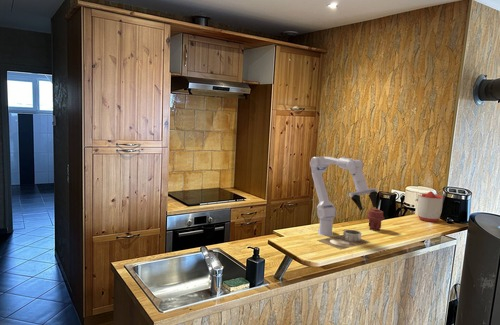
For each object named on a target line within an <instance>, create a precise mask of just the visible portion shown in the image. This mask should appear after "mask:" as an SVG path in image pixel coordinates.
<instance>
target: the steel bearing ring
mask: <svg viewBox="0 0 500 325" xmlns="http://www.w3.org/2000/svg"><path fill="white" fill-rule="evenodd" d="M342 235H343V239H344V240H346V241H349V242H360V241H361V239H362V232H361V231H358V230H355V229H345V230H343V234H342Z"/></svg>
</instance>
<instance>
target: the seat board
mask: <svg viewBox="0 0 500 325" xmlns="http://www.w3.org/2000/svg"><path fill="white" fill-rule="evenodd" d="M316 242H320V243H322V244H325V245H328V246H330V247H333V248H335V249H338V250H345V249H348V248H353V247H357V246H361V245H364V244H369V243H370V240H365V239H364V238H361V241H360V242H349V241H346V240H344V239H343V234H341V235H335V236H330V237H327V238H321V239H318V240H317V241H316Z"/></svg>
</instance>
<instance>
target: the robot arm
mask: <svg viewBox="0 0 500 325" xmlns="http://www.w3.org/2000/svg"><path fill="white" fill-rule="evenodd" d="M330 165H336V166H338V168H340V169H344V170H348V171H349V172H350V175H351V177H352V182H353V183H354V187H355V190H356V191H353V192H349V193H348V195H349V198H350V199H351V201H353V203H354V204H355V205H356V206H357V209H359V211H362V210H363V204H362V201H361V196H364V195H368V198H369V199H370V201H371V204H372V205H371V206H372V208H373V209H376V208H377V206H378V205H377V197H378V189H377V187H375V188H374V187H373V188H369V187H368V184H367V181H366V177H365V173H364V170H363V169H364V162H363V161H362V160H361V159H354V158H352V157H350V158H347V156H342V157H341V156H340V158H337V157H332V156H313V157H311V159H310V161H309V166H310V170H311V177H312V179H313V185H314V187H315V190H316V195H317V198H318V204H317V206H316V209H317V211H316V214H317V217H318V220H319V227H318V228H319V229H318V230H317V234H318V235H319V236H327V237H333V236H334V233H333V225H334V220H335V217H336V216H337V209H336V207H335V205H334V203H333V202H331V201H330V200H329V196H328V192H327V188H326V186H325V185H326V184H325V181H324V178H323V173H324V172H325V171H326V170H327V169H328V167H329V166H330Z"/></svg>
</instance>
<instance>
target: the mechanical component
mask: <svg viewBox="0 0 500 325" xmlns="http://www.w3.org/2000/svg"><path fill="white" fill-rule="evenodd" d="M366 219H367V220H368V227H369V230H371V231H380V230H381V229H382V221H384V220H385V216H384V211H382V210H380V209H379V208H372V209H369V210H368V213H367V215H366Z"/></svg>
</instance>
